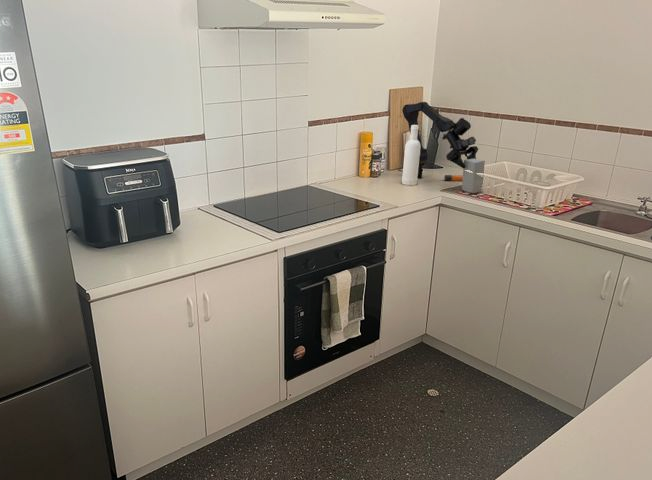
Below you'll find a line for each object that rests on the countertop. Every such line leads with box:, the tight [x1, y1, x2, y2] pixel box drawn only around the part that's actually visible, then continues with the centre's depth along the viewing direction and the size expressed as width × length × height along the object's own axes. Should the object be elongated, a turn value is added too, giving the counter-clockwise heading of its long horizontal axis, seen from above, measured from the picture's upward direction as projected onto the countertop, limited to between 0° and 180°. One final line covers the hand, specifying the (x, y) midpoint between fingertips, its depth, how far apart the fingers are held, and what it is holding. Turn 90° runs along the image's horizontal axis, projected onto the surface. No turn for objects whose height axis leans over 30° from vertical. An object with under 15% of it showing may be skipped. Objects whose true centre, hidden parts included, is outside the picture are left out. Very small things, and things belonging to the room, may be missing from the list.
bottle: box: [401, 124, 421, 186], centre depth 285 cm, size 8×8×30 cm
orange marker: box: [443, 174, 463, 182], centre depth 297 cm, size 14×3×3 cm, turn 90°
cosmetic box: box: [461, 158, 486, 194], centre depth 274 cm, size 8×7×16 cm
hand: (470, 167), depth 274 cm, fingers open, 9 cm apart
